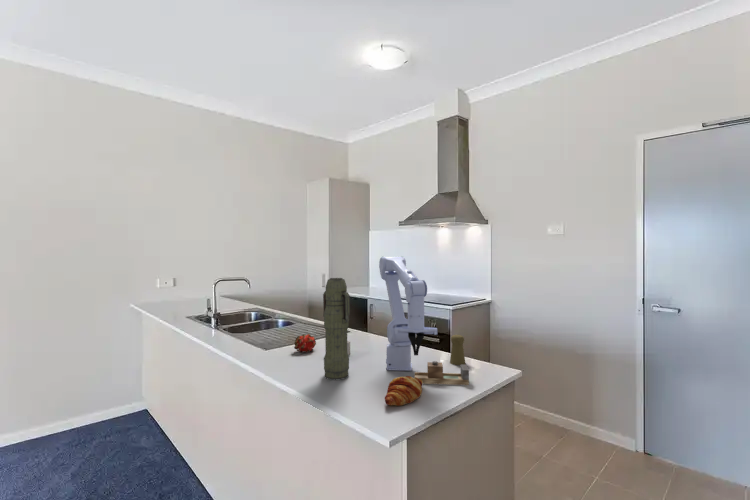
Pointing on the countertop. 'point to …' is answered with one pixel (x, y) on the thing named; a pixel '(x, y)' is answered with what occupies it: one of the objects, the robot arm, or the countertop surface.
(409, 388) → the croissant
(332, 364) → the thermos
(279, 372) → the countertop surface
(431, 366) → the carriage
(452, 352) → the cork
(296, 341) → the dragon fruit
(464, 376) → the rail
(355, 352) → the countertop surface
